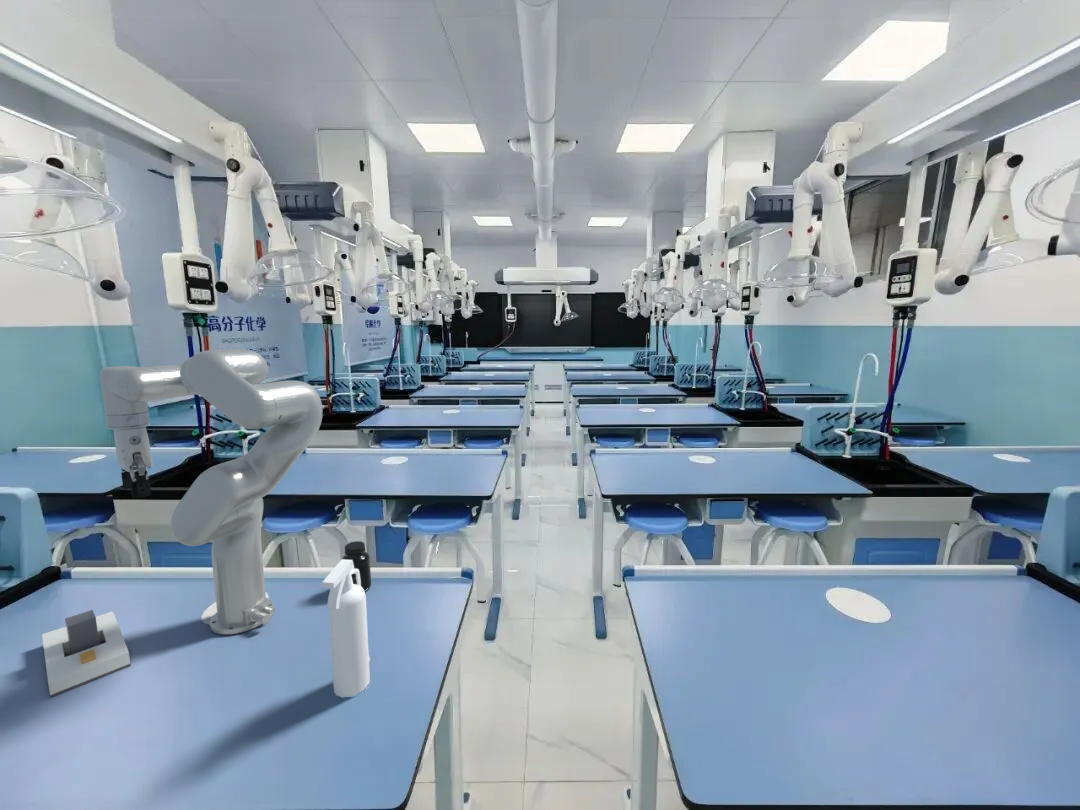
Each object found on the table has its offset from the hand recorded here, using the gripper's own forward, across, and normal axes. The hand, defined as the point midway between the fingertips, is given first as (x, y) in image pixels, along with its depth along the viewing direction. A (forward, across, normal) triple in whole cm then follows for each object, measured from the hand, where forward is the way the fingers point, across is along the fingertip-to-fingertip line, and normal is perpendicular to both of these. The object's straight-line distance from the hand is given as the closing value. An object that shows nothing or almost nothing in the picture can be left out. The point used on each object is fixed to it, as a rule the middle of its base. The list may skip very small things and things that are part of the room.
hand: (136, 491), depth 110 cm
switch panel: (+28, -15, +13) cm, 34 cm away
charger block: (+27, -15, +13) cm, 34 cm away
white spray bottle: (+28, -63, -18) cm, 71 cm away
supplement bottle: (+28, -33, -36) cm, 56 cm away
